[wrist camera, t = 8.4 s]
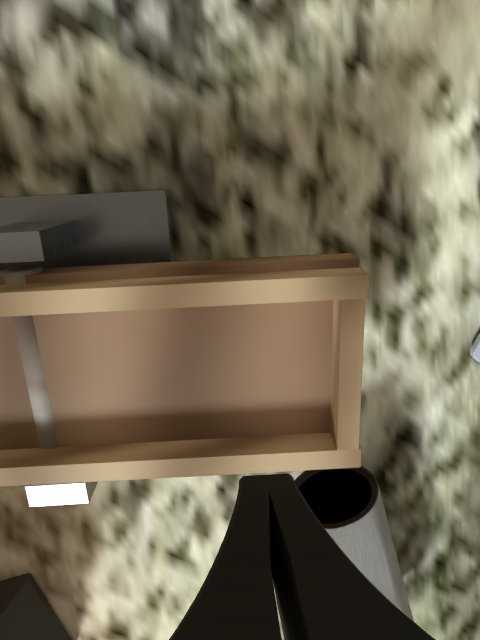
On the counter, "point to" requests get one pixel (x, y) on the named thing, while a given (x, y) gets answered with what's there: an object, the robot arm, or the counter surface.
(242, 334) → the wooden tray
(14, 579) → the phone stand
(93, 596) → the counter surface
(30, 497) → the stand
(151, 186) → the counter surface
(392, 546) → the gray cylinder
